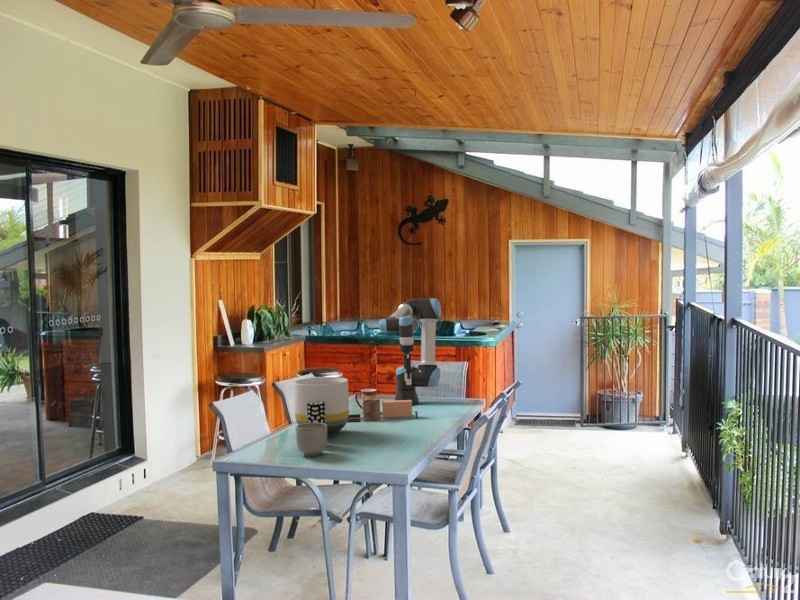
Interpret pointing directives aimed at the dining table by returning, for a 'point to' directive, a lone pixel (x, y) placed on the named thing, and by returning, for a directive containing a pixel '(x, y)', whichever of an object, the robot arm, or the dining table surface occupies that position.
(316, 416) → the white-spotted black cylinder
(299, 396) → the planter
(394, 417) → the track
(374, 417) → the open box
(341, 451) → the dining table surface
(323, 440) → the planter
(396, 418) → the pad
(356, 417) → the dark grey tray
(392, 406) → the block
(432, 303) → the robot arm
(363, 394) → the mug
